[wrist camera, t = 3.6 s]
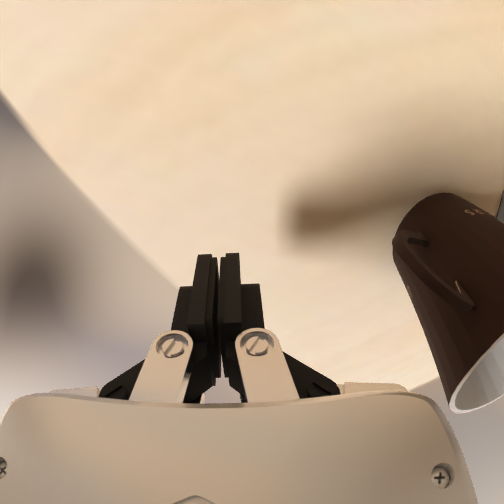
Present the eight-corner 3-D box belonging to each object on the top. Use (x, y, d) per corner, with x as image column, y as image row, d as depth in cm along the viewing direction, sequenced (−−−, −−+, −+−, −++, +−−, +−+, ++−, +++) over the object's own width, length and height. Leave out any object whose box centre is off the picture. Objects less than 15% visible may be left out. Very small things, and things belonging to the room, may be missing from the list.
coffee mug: (489, 248, 18) (567, 341, 9) (400, 310, 20) (455, 427, 12) (449, 104, 13) (600, 173, 4) (326, 185, 15) (420, 332, 7)
